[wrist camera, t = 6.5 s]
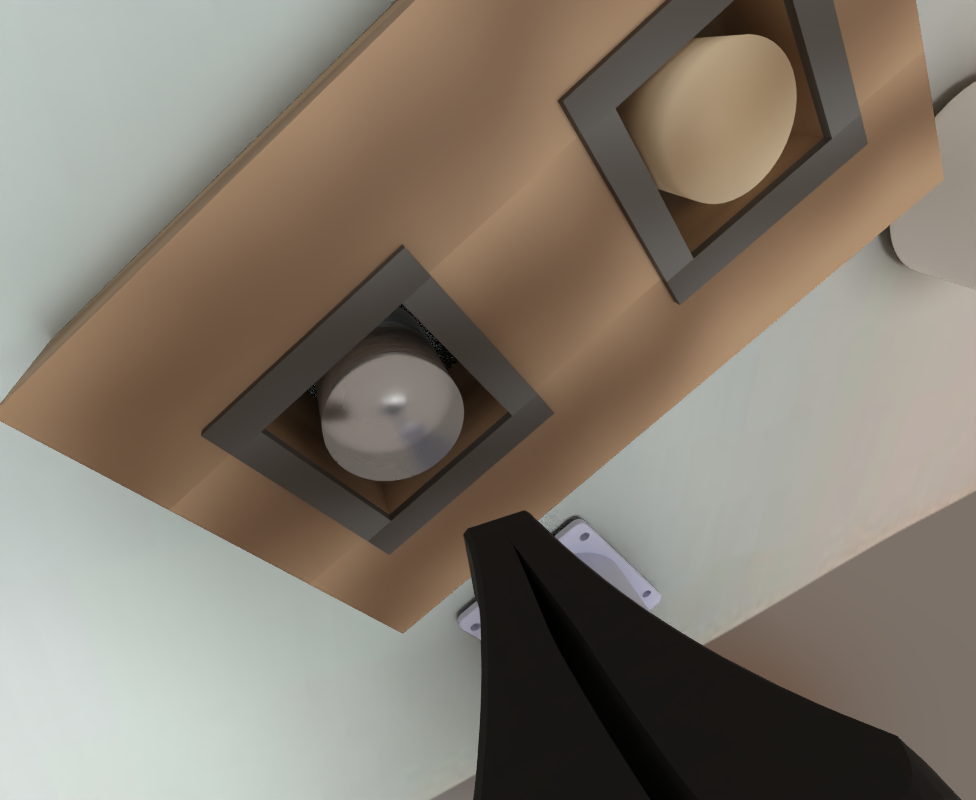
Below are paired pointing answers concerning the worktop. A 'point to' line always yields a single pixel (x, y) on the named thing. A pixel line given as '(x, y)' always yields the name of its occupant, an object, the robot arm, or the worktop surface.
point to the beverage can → (946, 203)
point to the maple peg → (713, 117)
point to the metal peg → (390, 403)
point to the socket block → (472, 273)
